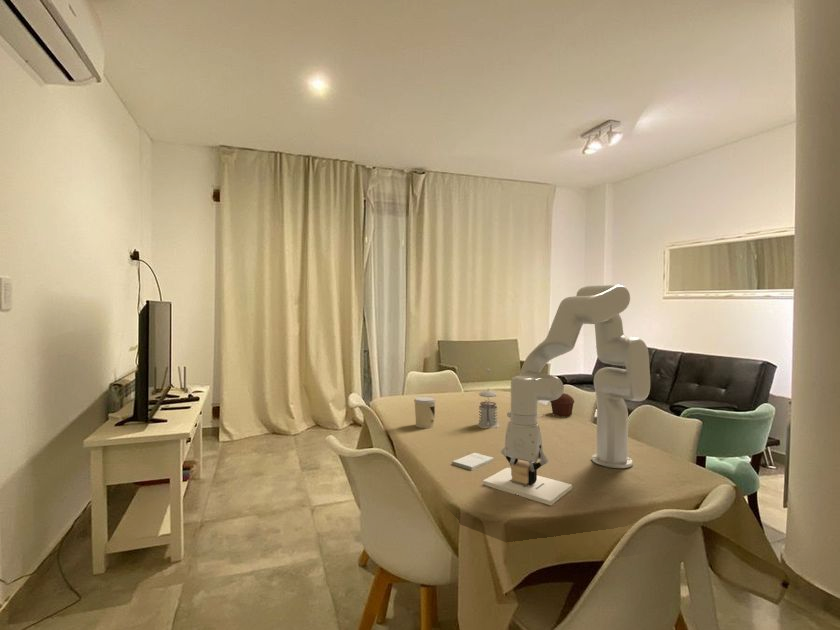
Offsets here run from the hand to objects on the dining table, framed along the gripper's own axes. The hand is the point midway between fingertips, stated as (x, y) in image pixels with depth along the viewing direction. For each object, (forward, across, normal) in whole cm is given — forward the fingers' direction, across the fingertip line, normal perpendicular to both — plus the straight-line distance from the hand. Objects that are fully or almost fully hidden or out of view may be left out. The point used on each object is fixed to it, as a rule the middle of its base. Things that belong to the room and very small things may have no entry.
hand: (523, 480), depth 128 cm
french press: (+2, -42, +49) cm, 65 cm away
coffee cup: (+2, -64, +32) cm, 71 cm away
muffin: (+2, -26, +90) cm, 94 cm away
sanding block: (0, 0, 0) cm, 0 cm away
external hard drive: (+2, -22, +7) cm, 23 cm away
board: (+1, +1, 0) cm, 2 cm away
